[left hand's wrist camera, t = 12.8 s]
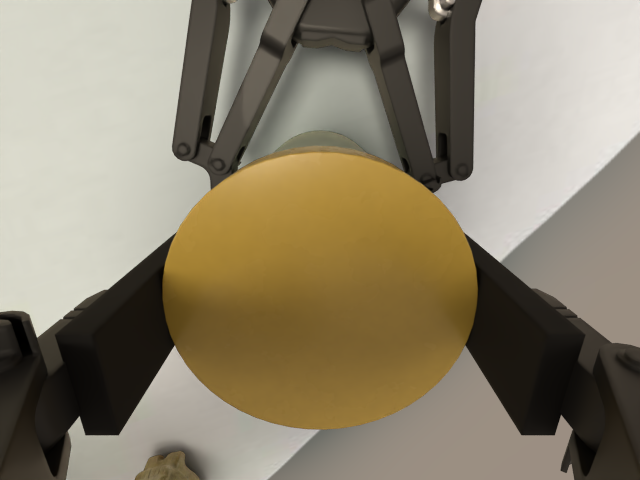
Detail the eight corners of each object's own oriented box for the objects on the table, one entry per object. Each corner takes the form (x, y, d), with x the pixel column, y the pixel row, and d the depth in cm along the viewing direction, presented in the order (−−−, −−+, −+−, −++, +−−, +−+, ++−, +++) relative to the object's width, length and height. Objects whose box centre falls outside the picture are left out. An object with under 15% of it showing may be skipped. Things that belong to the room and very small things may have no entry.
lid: (475, 359, 13) (497, 394, 11) (242, 415, 14) (233, 455, 12) (428, 103, 10) (448, 101, 8) (133, 197, 11) (101, 211, 9)
